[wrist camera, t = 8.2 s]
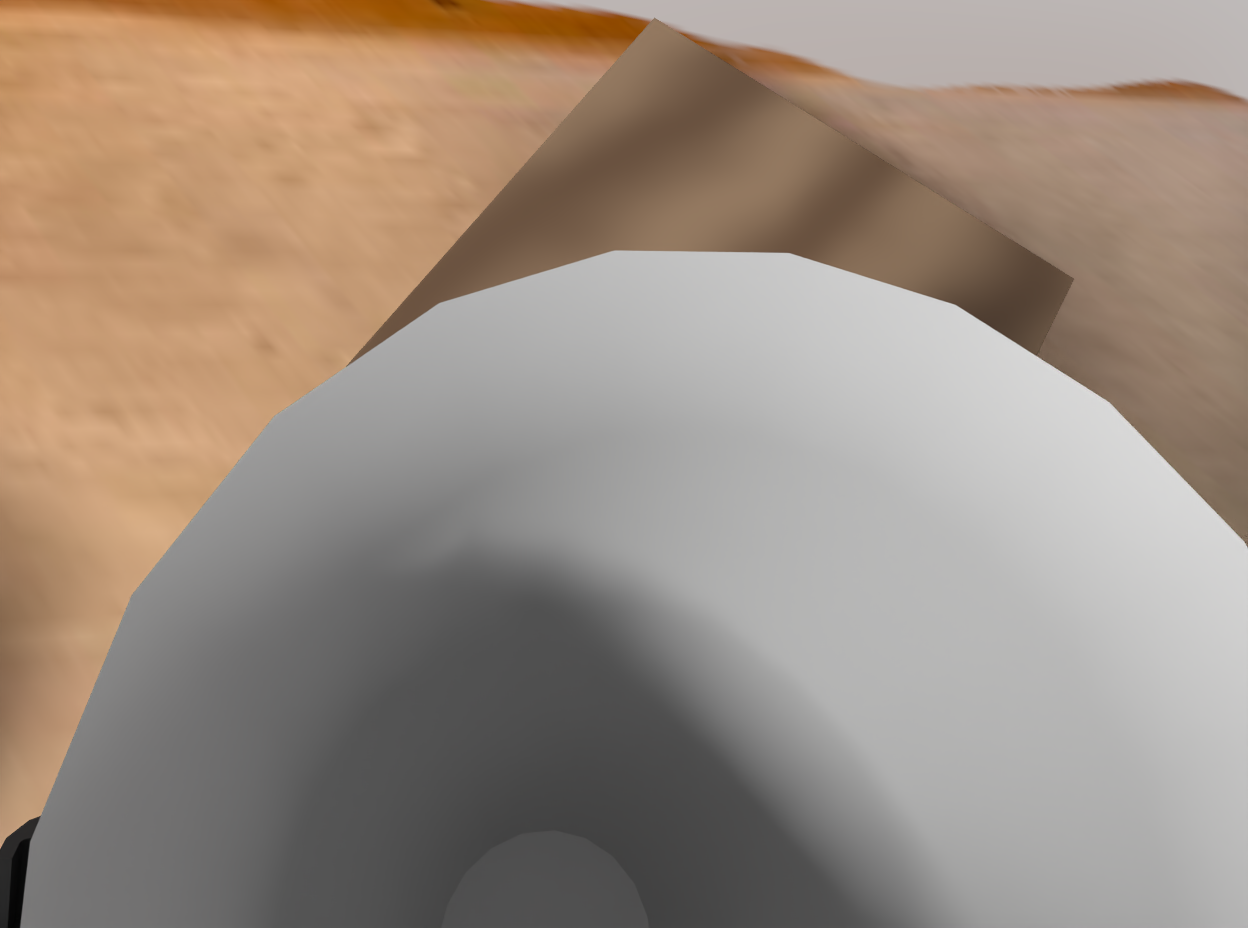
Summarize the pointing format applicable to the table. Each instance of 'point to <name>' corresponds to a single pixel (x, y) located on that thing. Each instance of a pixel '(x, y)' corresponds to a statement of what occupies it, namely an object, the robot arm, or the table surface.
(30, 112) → the table surface
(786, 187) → the walnut shelf
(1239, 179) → the table surface
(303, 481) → the chalice
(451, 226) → the table surface
